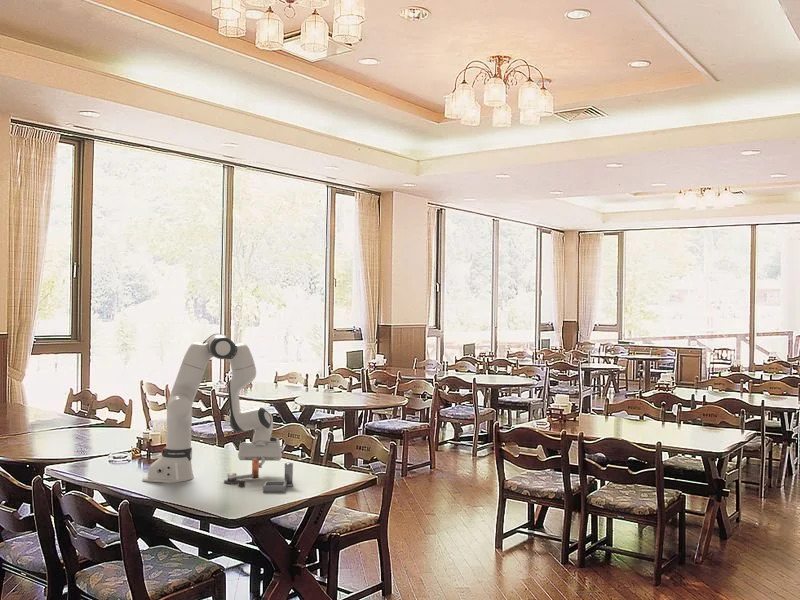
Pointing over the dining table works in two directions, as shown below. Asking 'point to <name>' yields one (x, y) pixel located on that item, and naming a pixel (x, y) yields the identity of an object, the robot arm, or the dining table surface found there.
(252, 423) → the robot arm
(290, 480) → the pin
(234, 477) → the crank
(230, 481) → the crank base
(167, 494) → the dining table surface
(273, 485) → the tray
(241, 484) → the stop block
